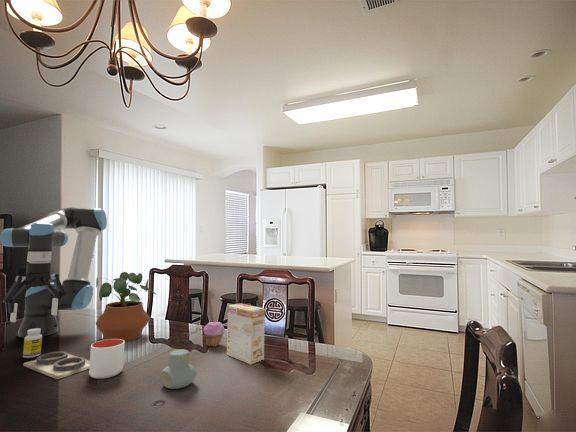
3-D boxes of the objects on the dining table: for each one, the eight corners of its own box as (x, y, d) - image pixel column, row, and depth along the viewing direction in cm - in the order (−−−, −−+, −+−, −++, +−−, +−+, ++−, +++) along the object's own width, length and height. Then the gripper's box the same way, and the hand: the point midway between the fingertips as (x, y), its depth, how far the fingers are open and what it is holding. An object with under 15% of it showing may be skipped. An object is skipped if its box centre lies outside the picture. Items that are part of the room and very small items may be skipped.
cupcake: (198, 346, 136) (199, 322, 137) (211, 341, 144) (211, 318, 145) (216, 349, 133) (217, 325, 133) (228, 343, 141) (228, 320, 142)
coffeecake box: (264, 360, 122) (265, 308, 124) (250, 365, 117) (251, 310, 118) (240, 350, 132) (241, 302, 134) (225, 354, 127) (227, 304, 129)
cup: (129, 370, 111) (131, 340, 111) (104, 382, 101) (106, 349, 102) (107, 366, 114) (109, 337, 115) (81, 377, 104) (83, 345, 105)
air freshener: (156, 384, 100) (158, 351, 101) (180, 376, 107) (181, 345, 108) (175, 395, 93) (176, 360, 94) (199, 385, 100) (200, 352, 101)
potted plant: (81, 341, 140) (85, 272, 143) (130, 325, 167) (133, 267, 169) (122, 347, 133) (126, 275, 136) (167, 330, 160) (169, 269, 163)
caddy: (63, 354, 124) (63, 348, 124) (97, 365, 114) (97, 358, 114) (23, 365, 113) (23, 358, 113) (57, 379, 102) (57, 371, 103)
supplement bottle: (30, 358, 120) (32, 332, 120) (19, 357, 121) (21, 330, 121) (44, 353, 125) (46, 328, 126) (33, 352, 126) (35, 327, 127)
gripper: (3, 264, 113) (-2, 326, 111) (77, 261, 135) (74, 313, 133) (-6, 263, 116) (-12, 323, 114) (67, 261, 138) (64, 311, 136)
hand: (34, 318), depth 124 cm, fingers open, 13 cm apart
